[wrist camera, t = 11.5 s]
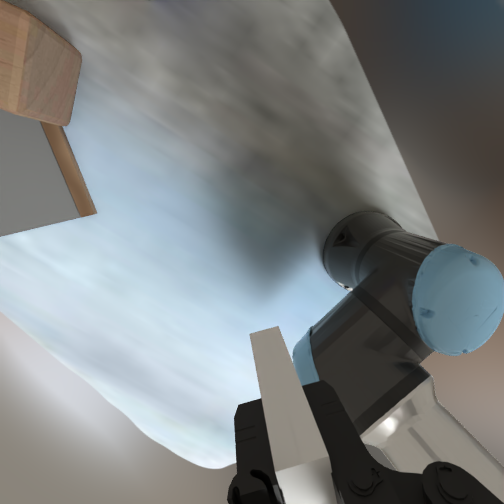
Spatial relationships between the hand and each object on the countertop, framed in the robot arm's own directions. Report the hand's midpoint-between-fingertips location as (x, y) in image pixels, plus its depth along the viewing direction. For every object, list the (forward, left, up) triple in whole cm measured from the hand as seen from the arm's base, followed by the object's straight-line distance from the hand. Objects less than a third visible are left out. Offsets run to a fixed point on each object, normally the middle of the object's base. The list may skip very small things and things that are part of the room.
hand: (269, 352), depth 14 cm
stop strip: (+22, -20, -34) cm, 45 cm away
